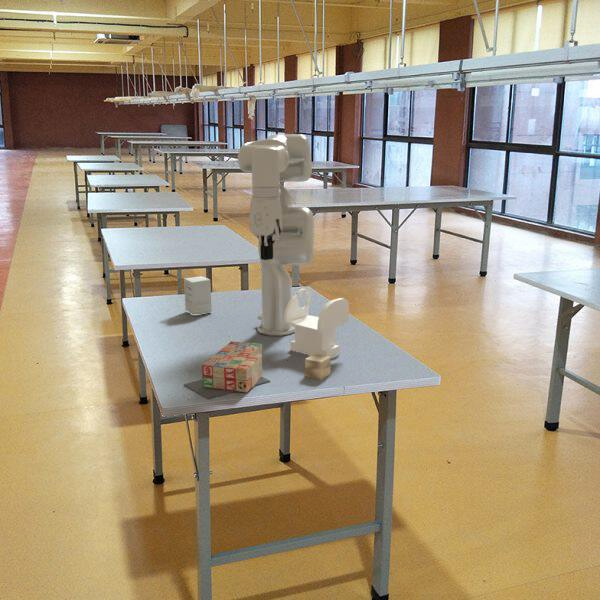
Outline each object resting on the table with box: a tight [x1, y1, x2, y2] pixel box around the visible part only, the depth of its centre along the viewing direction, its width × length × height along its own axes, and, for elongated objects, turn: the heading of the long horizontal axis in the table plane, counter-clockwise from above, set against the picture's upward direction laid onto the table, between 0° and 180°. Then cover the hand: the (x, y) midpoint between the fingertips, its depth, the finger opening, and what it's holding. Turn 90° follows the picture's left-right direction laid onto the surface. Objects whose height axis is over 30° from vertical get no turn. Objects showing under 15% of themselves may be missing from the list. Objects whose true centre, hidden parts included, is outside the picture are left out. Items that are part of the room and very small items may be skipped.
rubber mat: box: [183, 376, 271, 400], centre depth 179 cm, size 12×19×1 cm, turn 129°
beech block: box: [304, 354, 331, 380], centre depth 184 cm, size 5×5×5 cm
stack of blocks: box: [201, 341, 263, 393], centre depth 183 cm, size 21×6×12 cm
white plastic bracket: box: [284, 288, 350, 360], centre depth 201 cm, size 14×13×18 cm
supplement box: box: [183, 275, 213, 314], centre depth 244 cm, size 7×7×13 cm
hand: (266, 259), depth 192 cm, fingers closed
